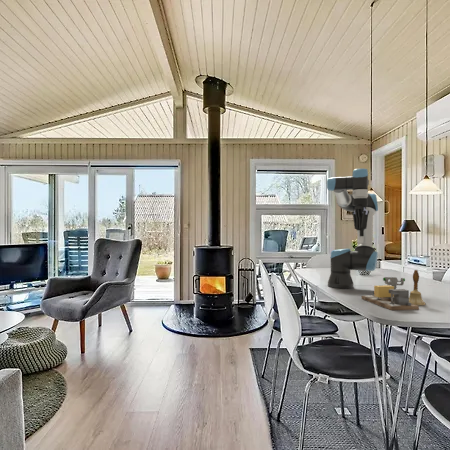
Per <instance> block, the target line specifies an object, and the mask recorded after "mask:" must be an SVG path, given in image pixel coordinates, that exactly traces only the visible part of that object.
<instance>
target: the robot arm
mask: <svg viewBox="0 0 450 450" xmlns="http://www.w3.org/2000/svg"><path fill="white" fill-rule="evenodd" d="M368 173H369V171H368V169H367V168H355V169H353V171H352V176H351V175H350V176H337V177H336V176H334V177H329V178H327V182H326V188H327V191H328V192H329V191H330V192H333V193H334V195H335V198H336V200H335V201H336V204H337V206H338V207H339V208H341V209H342V210H345V211H347V212H350V213H351V214H352V219H353V225H354V229H355V230H356V232H357V233H356V235H357V237H356V238H357V239H356V242H357V244H356V245H357V246H355V248H354V250H351V248H341V249H340V248H339V249H333V250H331V251H330V273H329V274H330V275H329V277H328V281H327V286H328V287H330V288H336V289H352V288H354V282H353V277H352V275H351V271H362V272H373V271H376V268H377V263H378V256H379V253H378V252H377V251H376V248H375V247H373V244H374V243H373V242H374V241H373V236H374V235H373V233H374V232H373V228H374V224H373V223H374V216H375V214H376V212H378V211H379V205H378V198H377V195H376V194H375V193H369V190H368V189H369V188H368V187H369V185H370V180H369V174H368ZM348 190H349V191H350V190H351V191H352V194H349V192H348Z"/></svg>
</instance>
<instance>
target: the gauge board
mask: <svg viewBox="0 0 450 450" xmlns="http://www.w3.org/2000/svg"><path fill="white" fill-rule="evenodd" d="M409 291H410V290H408V289H405V288H399V289H398V288H396V289H389V293H391V297H379V298H377V297H376V296H374V295H372V294H371V295H369V294H368V295H361V300H363V301H366V302H369V303H372V304H374V305H376V304H377V305H376V306H380V307H382V308H384V309H387V310H390V311H410V310H413V311H414V310H415V311H416V310H420V308H419V307H420V305H414V304H411V303H410V302H409V296H410V292H409ZM393 294H394V297H393Z"/></svg>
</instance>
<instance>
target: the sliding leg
mask: <svg viewBox="0 0 450 450" xmlns="http://www.w3.org/2000/svg"><path fill="white" fill-rule="evenodd" d="M373 287H374V288H373V290H374V291H373V292H374V295H373V296H376V297H377V298H379V297H391V293H389V289H394V286H392V285H387V284H384V285H374V286H373ZM393 297H394V294H393Z"/></svg>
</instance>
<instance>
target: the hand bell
mask: <svg viewBox="0 0 450 450" xmlns="http://www.w3.org/2000/svg"><path fill="white" fill-rule="evenodd" d="M419 274H420V273H419V271H418V269H415V270H414V272H413V274H412V281H413V290H411V291H410V292H409V302H410V303H411V304H414V305H417V306H425V305H427V304H426V303H425V301H424V299H423V298H422V293H421V291H419V290H418V289H419V287H418V286H419V285H418V283H419V280H420V275H419Z"/></svg>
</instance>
